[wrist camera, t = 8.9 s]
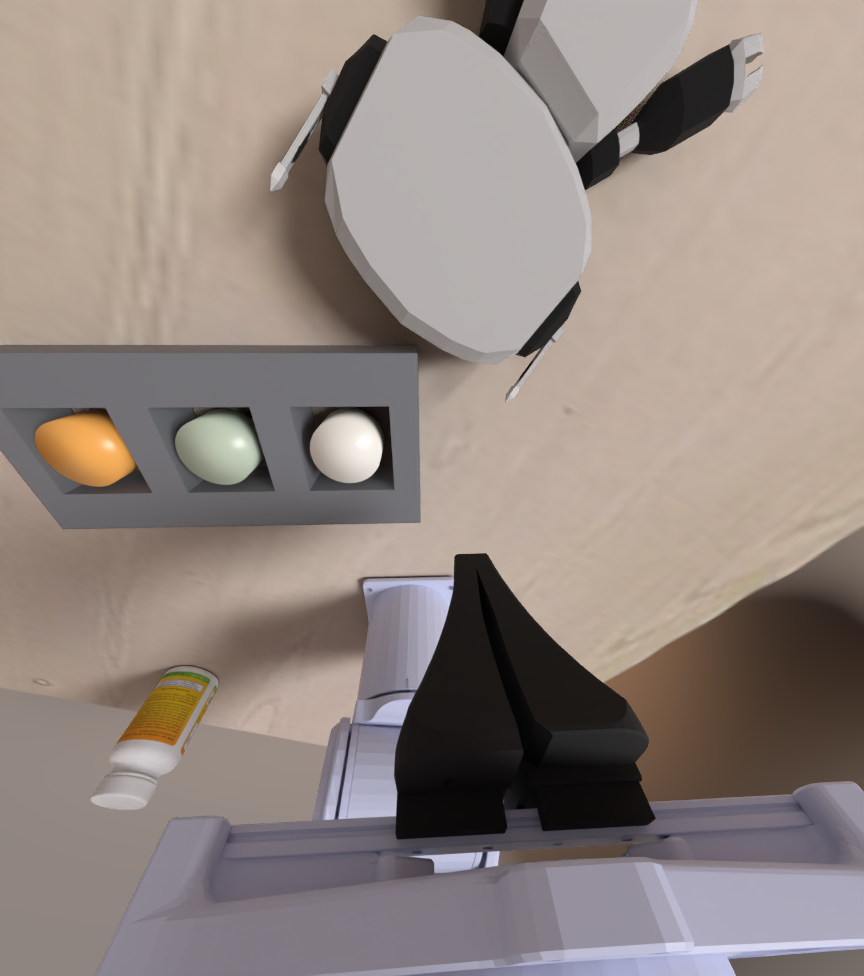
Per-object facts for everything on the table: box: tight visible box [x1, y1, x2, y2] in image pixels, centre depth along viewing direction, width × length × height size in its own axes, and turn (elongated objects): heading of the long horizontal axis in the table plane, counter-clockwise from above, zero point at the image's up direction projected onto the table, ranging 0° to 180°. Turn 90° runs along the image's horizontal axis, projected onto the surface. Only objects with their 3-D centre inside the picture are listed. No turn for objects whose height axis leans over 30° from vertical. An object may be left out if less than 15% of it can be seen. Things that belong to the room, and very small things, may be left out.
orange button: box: [35, 409, 138, 487], centre depth 17 cm, size 4×4×2 cm
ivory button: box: [310, 408, 384, 483], centre depth 18 cm, size 4×4×2 cm
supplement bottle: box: [91, 666, 218, 810], centre depth 29 cm, size 5×5×10 cm
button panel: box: [0, 345, 420, 529], centre depth 18 cm, size 10×22×3 cm, turn 90°
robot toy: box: [270, 0, 764, 402], centre depth 12 cm, size 12×4×15 cm
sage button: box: [175, 408, 265, 485], centre depth 17 cm, size 4×4×2 cm
